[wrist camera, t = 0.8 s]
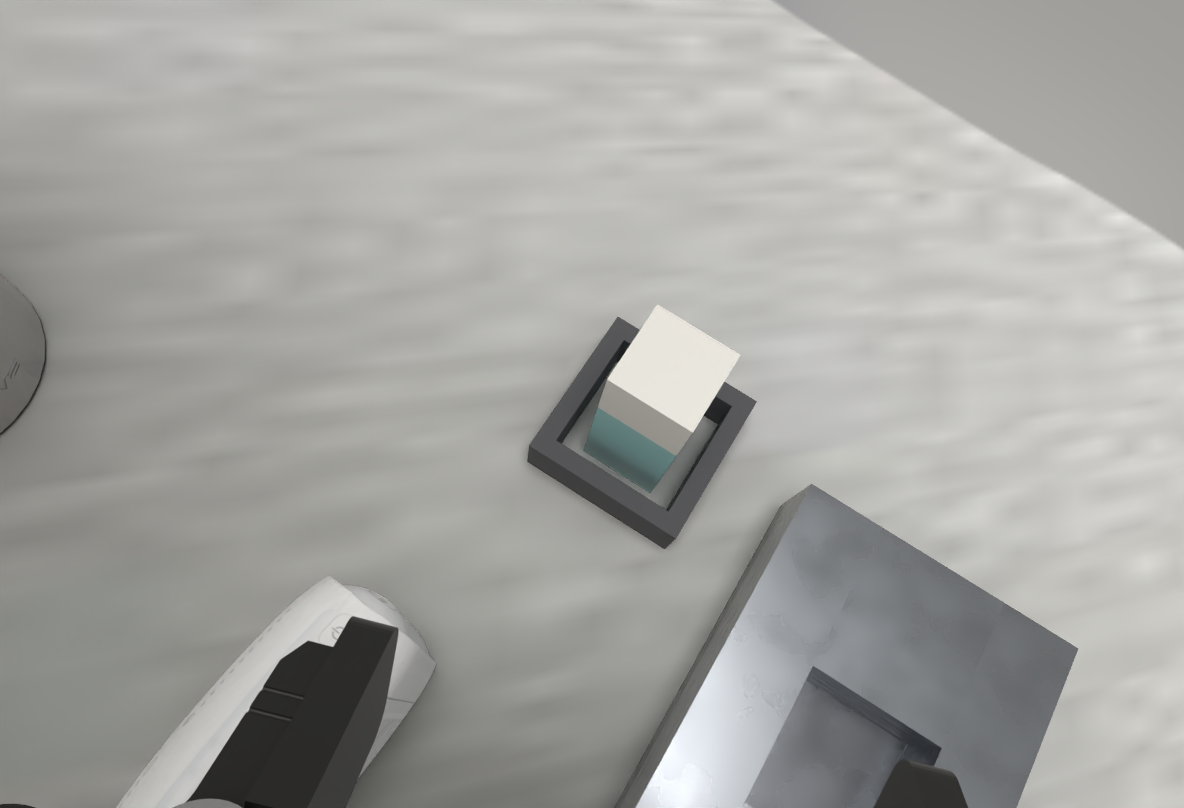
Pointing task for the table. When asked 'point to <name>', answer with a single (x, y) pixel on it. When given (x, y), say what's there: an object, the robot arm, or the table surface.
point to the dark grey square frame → (606, 489)
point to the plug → (657, 397)
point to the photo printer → (236, 689)
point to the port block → (852, 678)
